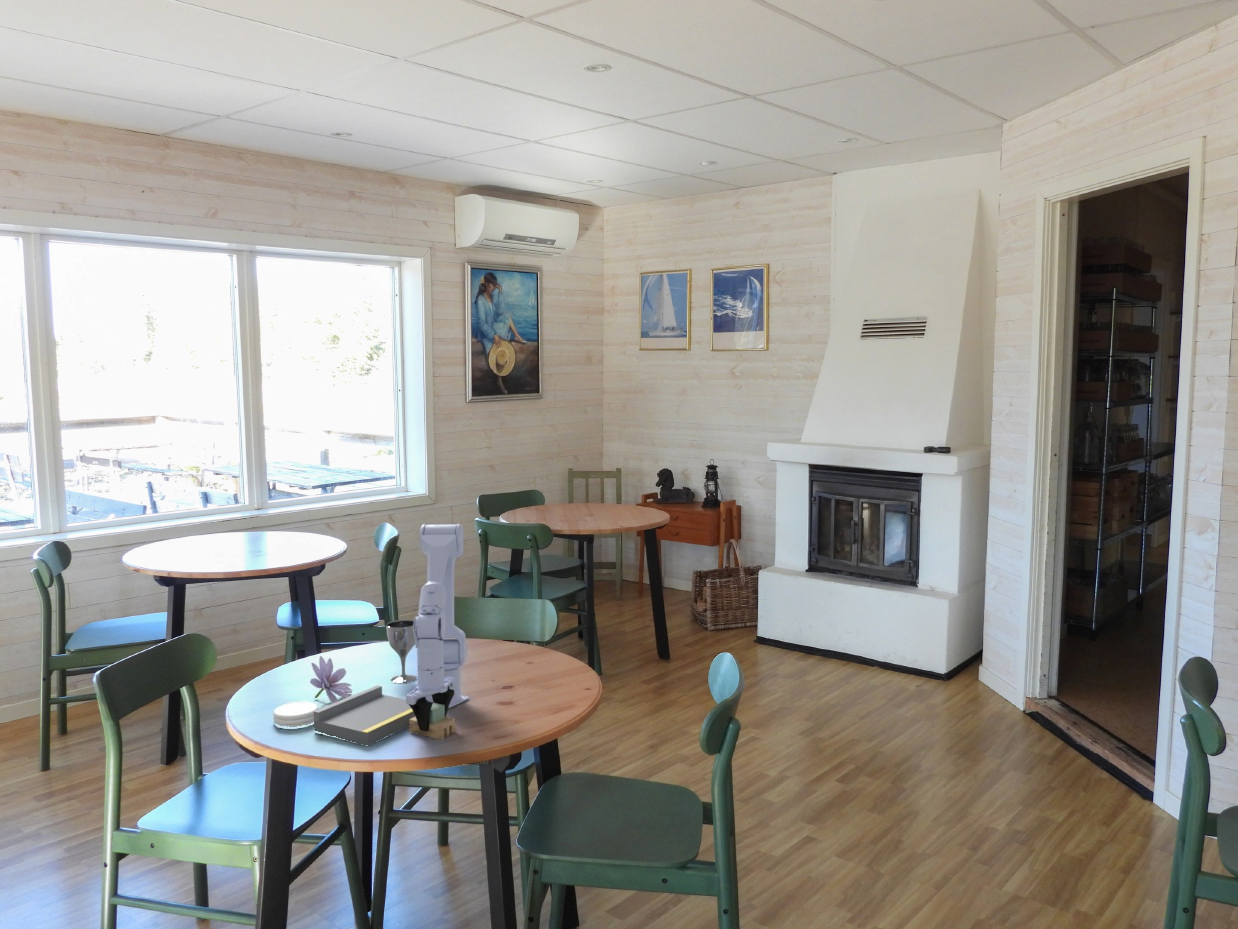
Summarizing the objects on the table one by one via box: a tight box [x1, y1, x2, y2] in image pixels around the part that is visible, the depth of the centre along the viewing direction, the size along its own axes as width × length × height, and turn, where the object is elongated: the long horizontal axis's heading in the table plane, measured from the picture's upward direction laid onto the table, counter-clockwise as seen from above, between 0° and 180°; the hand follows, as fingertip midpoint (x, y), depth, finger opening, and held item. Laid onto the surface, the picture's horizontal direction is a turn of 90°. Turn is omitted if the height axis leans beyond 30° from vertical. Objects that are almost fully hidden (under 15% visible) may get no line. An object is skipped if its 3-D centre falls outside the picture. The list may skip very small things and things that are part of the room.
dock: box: [313, 685, 415, 746], centre depth 215 cm, size 16×20×5 cm
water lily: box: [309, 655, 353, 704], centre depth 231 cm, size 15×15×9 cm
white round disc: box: [272, 701, 320, 727], centre depth 217 cm, size 10×10×4 cm
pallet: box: [408, 716, 456, 740], centre depth 210 cm, size 9×5×3 cm, turn 61°
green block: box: [429, 703, 445, 724], centre depth 210 cm, size 4×4×3 cm
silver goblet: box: [386, 619, 418, 684], centre depth 246 cm, size 8×8×15 cm
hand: (432, 726), depth 210 cm, fingers closed on pallet, 5 cm apart
